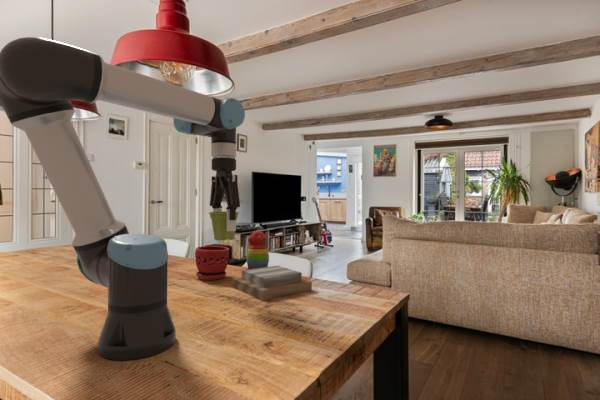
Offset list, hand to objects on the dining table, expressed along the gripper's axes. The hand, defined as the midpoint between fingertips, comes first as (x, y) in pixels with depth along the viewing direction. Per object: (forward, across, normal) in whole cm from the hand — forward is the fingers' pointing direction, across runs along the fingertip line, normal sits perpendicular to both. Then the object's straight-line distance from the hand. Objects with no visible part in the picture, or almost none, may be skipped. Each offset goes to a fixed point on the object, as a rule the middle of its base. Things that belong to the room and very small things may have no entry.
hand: (224, 229), depth 109 cm
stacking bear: (+22, +26, -27) cm, 43 cm away
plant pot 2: (+22, +30, -9) cm, 38 cm away
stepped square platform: (+22, +2, -19) cm, 29 cm away
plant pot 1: (+3, 0, 0) cm, 3 cm away
